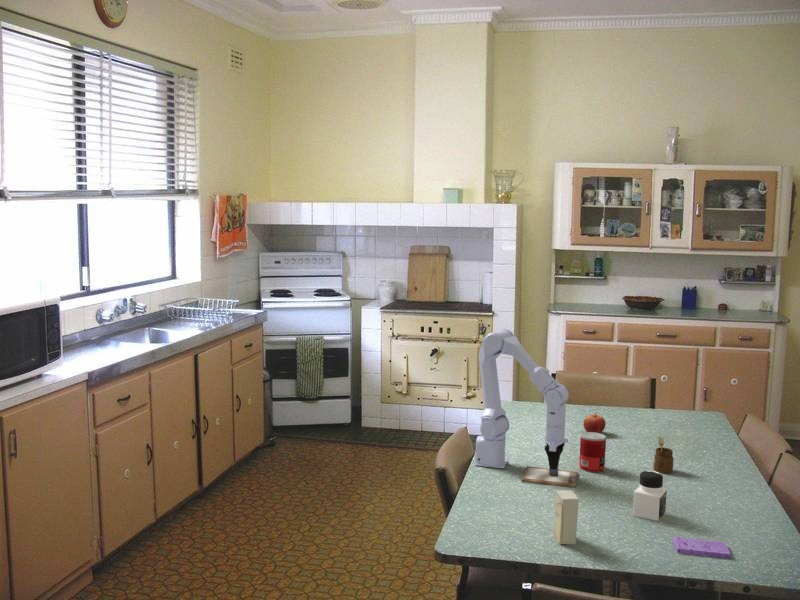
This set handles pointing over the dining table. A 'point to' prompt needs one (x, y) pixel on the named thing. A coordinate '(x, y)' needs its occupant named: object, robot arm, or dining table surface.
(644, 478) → the medicine bottle
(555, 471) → the blue cylindrical bottle
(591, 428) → the apple
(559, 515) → the skincare box
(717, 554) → the sponges
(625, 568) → the dining table surface
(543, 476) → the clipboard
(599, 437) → the canned food
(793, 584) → the dining table surface
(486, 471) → the dining table surface
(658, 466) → the utensil holder
